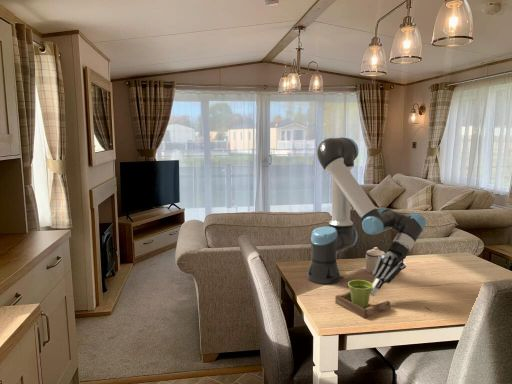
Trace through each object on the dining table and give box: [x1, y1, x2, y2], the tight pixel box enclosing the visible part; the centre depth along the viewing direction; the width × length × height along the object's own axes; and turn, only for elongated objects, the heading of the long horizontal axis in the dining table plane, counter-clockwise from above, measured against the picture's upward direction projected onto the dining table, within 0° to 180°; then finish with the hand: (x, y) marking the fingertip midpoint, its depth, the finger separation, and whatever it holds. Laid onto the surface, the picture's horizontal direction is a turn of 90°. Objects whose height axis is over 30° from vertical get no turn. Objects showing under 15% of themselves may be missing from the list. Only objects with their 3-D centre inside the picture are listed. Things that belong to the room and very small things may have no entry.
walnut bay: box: [334, 291, 391, 319], centre depth 155 cm, size 14×15×3 cm
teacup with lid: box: [365, 246, 385, 274], centre depth 195 cm, size 12×9×12 cm
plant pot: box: [347, 279, 373, 309], centre depth 156 cm, size 9×9×9 cm
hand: (370, 293), depth 157 cm, fingers closed
